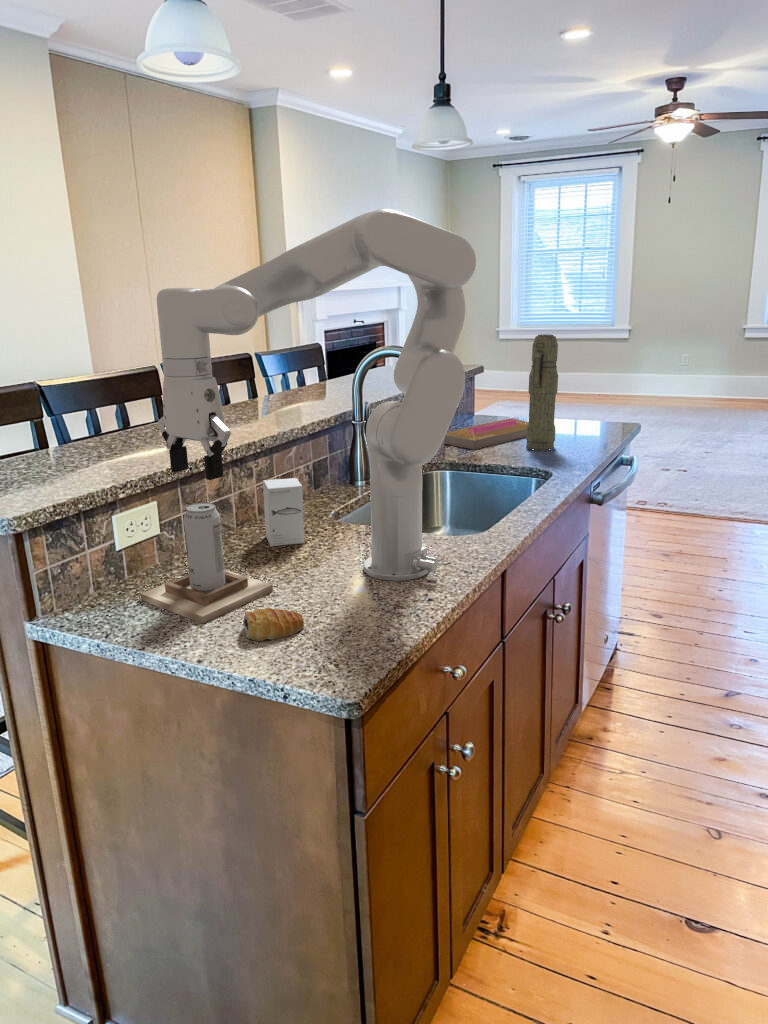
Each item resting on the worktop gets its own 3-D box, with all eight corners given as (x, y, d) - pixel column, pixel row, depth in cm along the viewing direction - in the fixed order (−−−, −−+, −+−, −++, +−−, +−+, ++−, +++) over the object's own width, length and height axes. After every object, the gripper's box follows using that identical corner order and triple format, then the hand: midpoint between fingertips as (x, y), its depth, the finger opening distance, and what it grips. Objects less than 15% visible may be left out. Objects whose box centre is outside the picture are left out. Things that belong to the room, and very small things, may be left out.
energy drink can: (193, 582, 136) (185, 502, 131) (227, 581, 136) (221, 501, 131) (187, 596, 130) (179, 513, 125) (223, 595, 130) (216, 511, 126)
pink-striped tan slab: (508, 429, 272) (509, 412, 270) (541, 435, 261) (542, 417, 260) (440, 444, 249) (440, 426, 248) (473, 451, 239) (474, 432, 237)
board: (272, 590, 135) (271, 576, 134) (202, 623, 123) (201, 608, 122) (212, 571, 144) (210, 558, 143) (141, 599, 132) (139, 585, 131)
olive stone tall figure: (520, 450, 238) (525, 336, 227) (531, 443, 248) (536, 333, 238) (548, 453, 234) (555, 336, 224) (558, 445, 244) (564, 333, 234)
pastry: (298, 618, 124) (297, 597, 123) (308, 636, 118) (308, 614, 117) (241, 627, 121) (239, 605, 120) (248, 646, 115) (247, 623, 114)
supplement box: (269, 547, 156) (266, 488, 152) (265, 536, 163) (262, 479, 159) (305, 544, 158) (302, 485, 154) (299, 533, 165) (297, 476, 161)
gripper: (242, 369, 119) (250, 477, 125) (171, 363, 129) (181, 463, 134) (205, 374, 114) (215, 487, 119) (134, 367, 124) (145, 471, 129)
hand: (197, 474), depth 127 cm, fingers open, 8 cm apart
